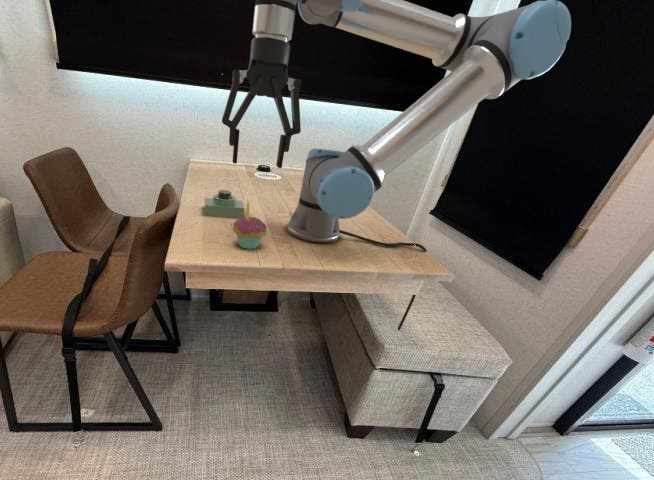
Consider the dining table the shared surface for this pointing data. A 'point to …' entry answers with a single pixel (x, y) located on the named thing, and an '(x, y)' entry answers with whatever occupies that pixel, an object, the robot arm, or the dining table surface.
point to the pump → (224, 194)
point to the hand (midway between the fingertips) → (257, 164)
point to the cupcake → (249, 230)
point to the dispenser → (224, 207)
